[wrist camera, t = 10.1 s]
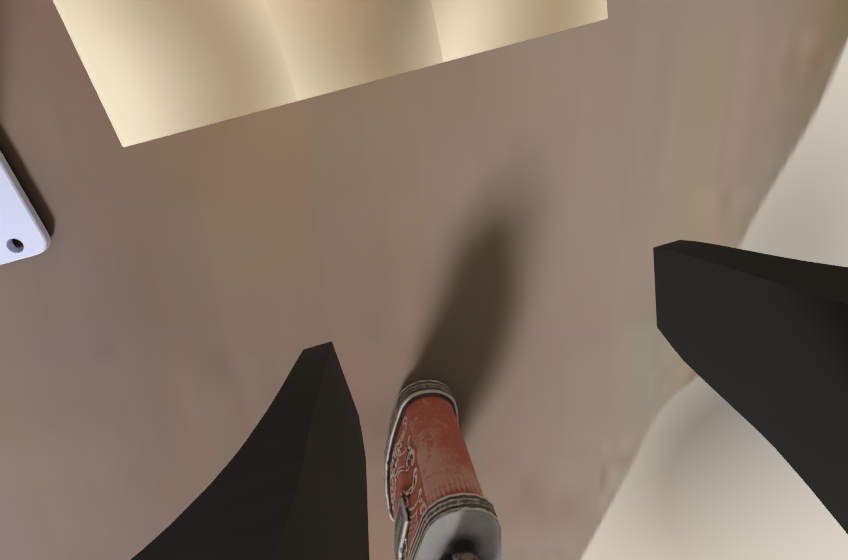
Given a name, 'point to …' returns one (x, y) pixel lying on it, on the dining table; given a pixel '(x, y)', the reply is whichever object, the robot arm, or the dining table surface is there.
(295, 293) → the dining table surface
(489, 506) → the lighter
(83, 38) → the holder
